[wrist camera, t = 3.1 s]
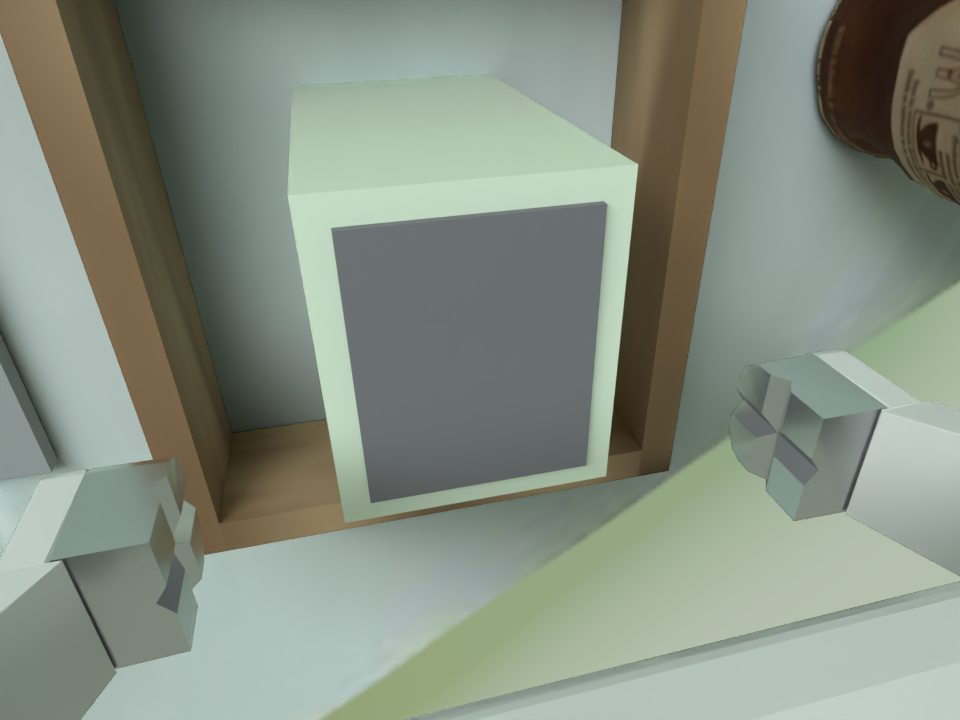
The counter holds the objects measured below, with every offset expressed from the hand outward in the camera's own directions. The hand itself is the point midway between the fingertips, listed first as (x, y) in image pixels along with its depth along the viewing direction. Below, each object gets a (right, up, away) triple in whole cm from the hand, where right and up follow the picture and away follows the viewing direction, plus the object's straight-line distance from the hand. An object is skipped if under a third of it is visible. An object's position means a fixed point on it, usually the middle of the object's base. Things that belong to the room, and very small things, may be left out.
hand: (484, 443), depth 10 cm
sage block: (-2, +6, +9) cm, 11 cm away
